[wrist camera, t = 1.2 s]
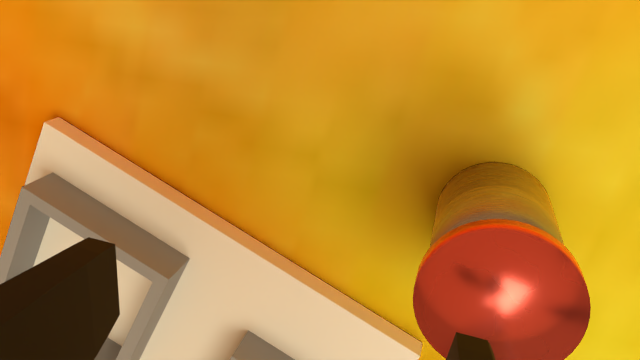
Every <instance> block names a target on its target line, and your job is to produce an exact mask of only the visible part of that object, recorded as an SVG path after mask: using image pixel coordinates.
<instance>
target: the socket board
mask: <svg viewBox="0 0 640 360" xmlns="http://www.w3.org/2000/svg"><path fill="white" fill-rule="evenodd" d="M88 237H90V238H94V239H98V240H102V241H106V242H109V243H113V244H115V247H116V262H117V278H118V293H119V308H120V315H119V317H118V319H117V321H116V323H115V324H114V326H113V328H112V330H111V332H110V334H109V335H108V337H107V339H106V341H105V342H104V344H103V346H102V347H101V349H100V351H99V353H98V354H97V356H96V357H95V359H94V360H418V359H419V357H420V355H421V349H422V342H420V341H418V340H417V339H415V338H414V337H412V336H410V335H409V334H407V333H406V332H404V331H402V330H401V329H399V328H398V327H396V326H394V325H393V324H391V323H390V322H388V321H386V320H385V319H383V318H381V317H380V316H378V315H377V314H375V313H373V312H372V311H370V310H369V309H367V308H365V307H364V306H362V305H361V304H359V303H357V302H356V301H354V300H353V299H351V298H349V297H348V296H346V295H344V294H343V293H341V292H340V291H338V290H336V289H335V288H333V287H332V286H330V285H328V284H327V283H325V282H324V281H322V280H320V279H319V278H317V277H316V276H314V275H312V274H311V273H309V272H307V271H306V270H304V269H303V268H301V267H299V266H298V265H296V264H295V263H293V262H291V261H290V260H288V259H287V258H285V257H283V256H282V255H280V254H279V253H277V252H275V251H274V250H272V249H270V248H269V247H267V246H266V245H264V244H262V243H261V242H259V241H258V240H256V239H254V238H253V237H251V236H250V235H248V234H246V233H245V232H243V231H242V230H240V229H238V228H237V227H235V226H234V225H232V224H230V223H229V222H227V221H225V220H224V219H222V218H221V217H219V216H217V215H216V214H214V213H213V212H211V211H209V210H208V209H206V208H205V207H203V206H201V205H200V204H198V203H197V202H195V201H193V200H192V199H190V198H188V197H187V196H185V195H184V194H182V193H180V192H179V191H177V190H176V189H174V188H172V187H171V186H169V185H168V184H166V183H164V182H163V181H161V180H160V179H158V178H156V177H155V176H153V175H151V174H150V173H148V172H147V171H145V170H143V169H142V168H140V167H139V166H137V165H135V164H134V163H132V162H131V161H129V160H127V159H126V158H124V157H123V156H121V155H119V154H118V153H116V152H114V151H113V150H111V149H110V148H108V147H106V146H105V145H103V144H102V143H100V142H98V141H97V140H95V139H94V138H92V137H90V136H89V135H87V134H86V133H84V132H82V131H81V130H79V129H77V128H76V127H74V126H73V125H71V124H69V123H68V122H66V121H65V120H63V119H61V118H60V117H57V118H54V119H51V120H49V121H46V122H44V124H43V128H42V131H41V134H40V137H39V141H38V144H37V147H36V150H35V153H34V157H33V160H32V163H31V166H30V170H29V173H28V176H27V179H26V182H25V186H23V187H22V188H21V192H20V195H19V198H18V201H17V205H16V208H15V211H14V214H13V217H12V221H11V224H10V227H9V230H8V234H7V237H6V240H5V243H4V247H3V250H2V253H1V256H0V284H2V283H4V282H5V281H7V280H9V279H11V278H13V277H15V276H17V275H19V274H21V273H22V272H24V271H26V270H28V269H30V268H32V267H34V266H36V265H37V264H39V263H41V262H43V261H45V260H47V259H48V258H50V257H52V256H54V255H56V254H58V253H59V252H61V251H63V250H65V249H67V248H69V247H71V246H72V245H74V244H76V243H78V242H80V241H82V240H84V239H86V238H88Z"/></svg>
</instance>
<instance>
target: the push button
mask: <svg viewBox="0 0 640 360" xmlns="http://www.w3.org/2000/svg"><path fill="white" fill-rule="evenodd" d="M413 307H414V312H415V317H416V320H417V323H418V325H419V327H420V329H421V331H422V333H423V335H424V336H425V338H426V339H427V341H428V342H429V343H430V344H431V345H432V347H433V348H434V349H435V350H436V351H437V352H438V353H440V354H441V355H442V356H443V357H445V358H447V355H448V353H449V350H450V347H451V345H452V342H453V339H454V336H455V334H456V332H458V333H462V334H465V335H469V336H473V337H477V338H481V339H485V340H488V342H489V343H490V345H491V347H492V350H493V353H494V356H495V359H496V360H564V359H565V358H566V357H567V356H568V355H570V354H571V353H572V352H573V351H574V349H575V348H576V347H577V346H578V345H579V343H580V341H581V340H582V338H583V336H584V334H585V332H586V329H587V327H588V323H589V318H590V297H589V293H588V290H587V286H586V283H585V280H584V277H583V274H582V272H581V269H580V267H579V265H578V263H577V261H576V260H575V258H574V257H573V255H572V254H571V253H570V251H569V250H568V249H567V248H566V247H565V246H564V244H563V240H562V237H561V234H560V231H559V227H558V224H557V221H556V218H555V214H554V211H553V208H552V205H551V201H550V198H549V196H548V194H547V192H546V190H545V188H544V187H543V185H542V184H541V183H540V182H539V181H538V180H537V179H536V178H535V177H534V176H533V175H531V174H530V173H529V172H527V171H525V170H523V169H521V168H519V167H517V166H514V165H510V164H506V163H498V162H489V163H481V164H478V165H474V166H471V167H469V168H466V169H465V170H463V171H461V172H459V173H458V174H457V175H455V176H454V177H453V178H452V179H451V180H450V181H449V182H448V183H447V185H446V186H445V187H444V189H443V191H442V193H441V195H440V197H439V201H438V204H437V210H436V216H435V221H434V227H433V233H432V238H431V244H430V248H429V250H428V251H427V253H426V254H425V256H424V257H423V259H422V261H421V264H420V266H419V269H418V273H417V277H416V282H415V286H414V294H413Z"/></svg>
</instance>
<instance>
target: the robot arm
mask: <svg viewBox="0 0 640 360" xmlns="http://www.w3.org/2000/svg"><path fill="white" fill-rule="evenodd" d="M119 315H120V308H119V293H118V278H117V262H116V247H115V244H113V243H109V242H106V241H102V240H98V239H94V238H90V237H88V238H86V239H84V240H82V241H80V242H78V243H76V244H74V245H72V246H71V247H69V248H67V249H65V250H63V251H61V252H59V253H58V254H56V255H54V256H52V257H50V258H48V259H47V260H45V261H43V262H41V263H39V264H37V265H36V266H34V267H32V268H30V269H28V270H26V271H24V272H22V273H21V274H19V275H17V276H15V277H13V278H11V279H9V280H7V281H5V282H4V283H2V284H0V360H94V359H95V357H96V356H97V354H98V353H99V351H100V349H101V347H102V346H103V344H104V342H105V341H106V339H107V337H108V335H109V334H110V332H111V330H112V328H113V326H114V324H115V323H116V321H117V319H118V317H119ZM446 360H496V359H495V356H494V353H493V350H492V347H491V345H490V343H489V342H488V340H485V339H481V338H477V337H473V336H469V335H465V334H462V333H458V332H456V334H455V336H454V339H453V342H452V345H451V347H450V350H449V353H448V355H447V358H446Z"/></svg>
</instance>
